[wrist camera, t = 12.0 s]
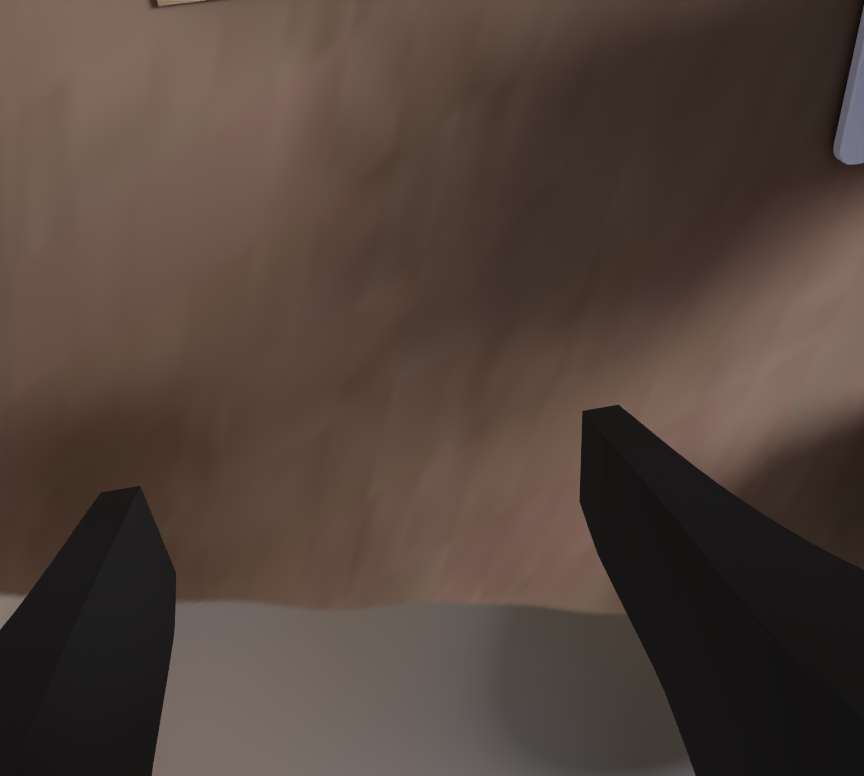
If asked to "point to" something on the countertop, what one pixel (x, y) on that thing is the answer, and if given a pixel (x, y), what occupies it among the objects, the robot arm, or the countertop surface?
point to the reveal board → (174, 2)
